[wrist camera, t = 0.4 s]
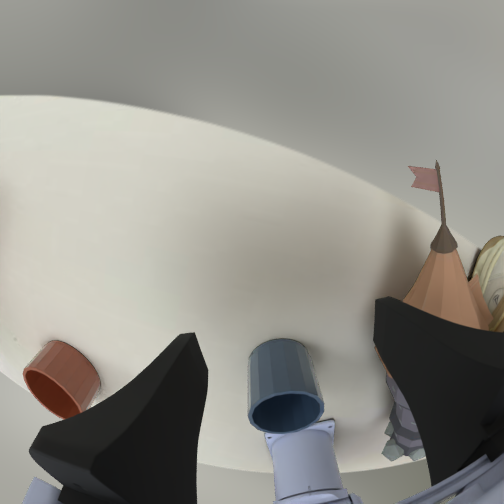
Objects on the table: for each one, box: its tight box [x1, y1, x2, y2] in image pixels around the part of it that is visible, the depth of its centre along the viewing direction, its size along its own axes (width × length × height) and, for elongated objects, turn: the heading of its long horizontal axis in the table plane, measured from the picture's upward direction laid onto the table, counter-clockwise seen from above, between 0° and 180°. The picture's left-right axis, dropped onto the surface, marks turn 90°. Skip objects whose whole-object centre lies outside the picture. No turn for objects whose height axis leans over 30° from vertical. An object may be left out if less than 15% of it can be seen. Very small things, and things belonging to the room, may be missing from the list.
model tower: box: [375, 160, 494, 461], centre depth 17 cm, size 10×11×30 cm
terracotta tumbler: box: [23, 340, 100, 420], centre depth 21 cm, size 8×8×5 cm
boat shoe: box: [471, 236, 504, 333], centre depth 18 cm, size 25×9×9 cm, turn 6°
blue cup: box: [248, 339, 324, 434], centre depth 19 cm, size 5×5×6 cm
